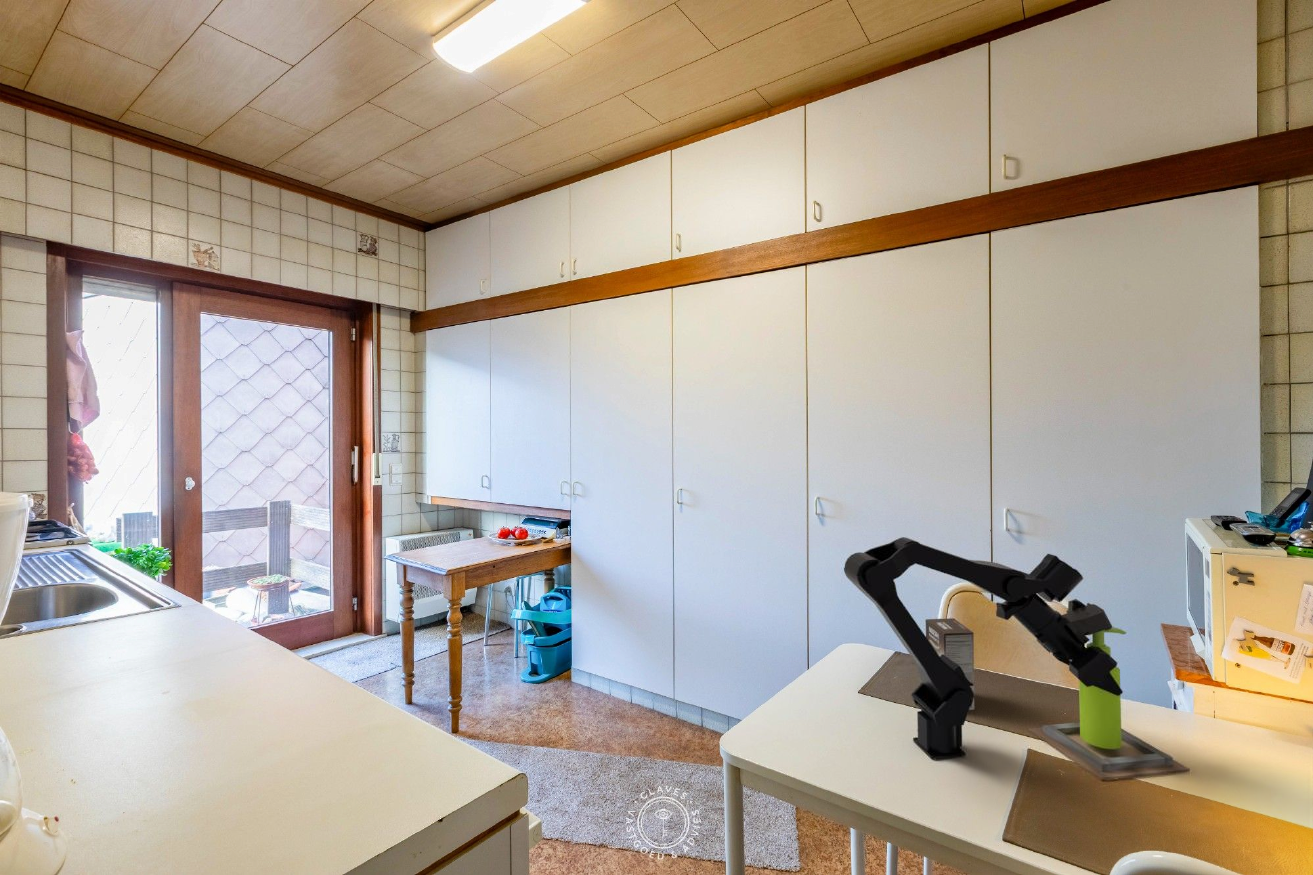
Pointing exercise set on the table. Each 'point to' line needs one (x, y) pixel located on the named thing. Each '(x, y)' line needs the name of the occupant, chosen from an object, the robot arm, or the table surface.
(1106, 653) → the robot arm
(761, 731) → the table surface
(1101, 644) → the soap dispenser
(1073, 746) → the grey rectangular tray
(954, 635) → the coffee box
